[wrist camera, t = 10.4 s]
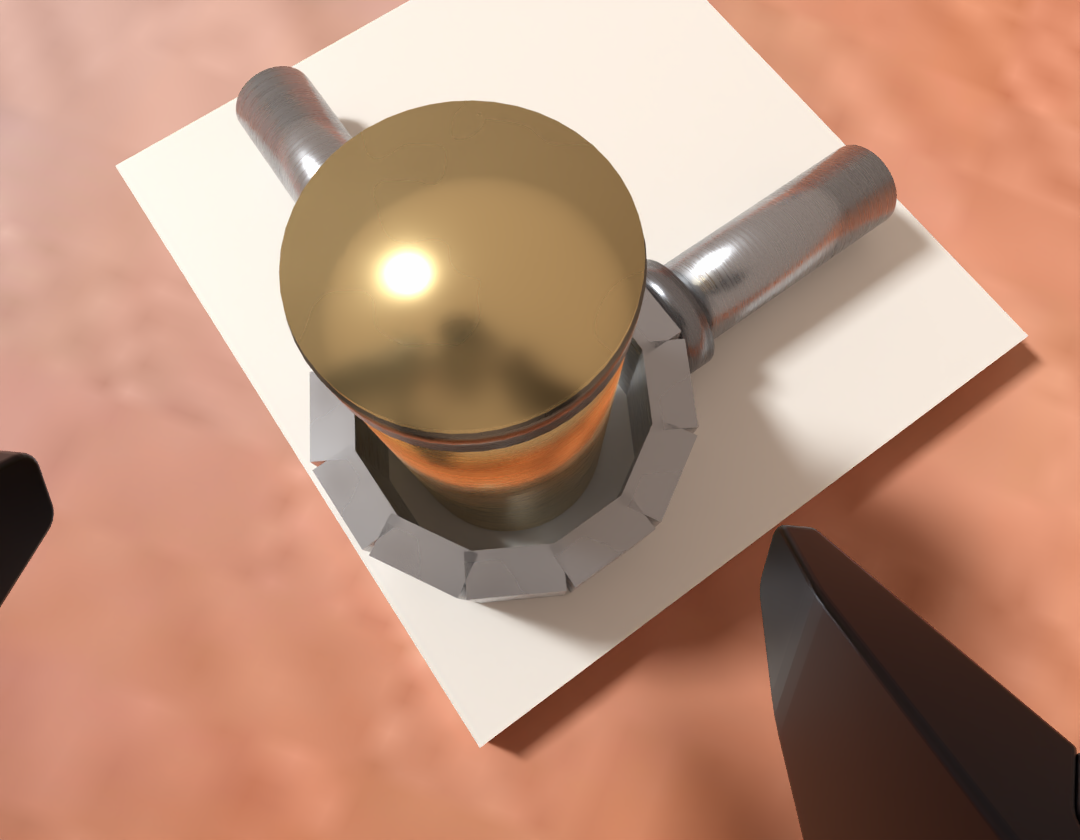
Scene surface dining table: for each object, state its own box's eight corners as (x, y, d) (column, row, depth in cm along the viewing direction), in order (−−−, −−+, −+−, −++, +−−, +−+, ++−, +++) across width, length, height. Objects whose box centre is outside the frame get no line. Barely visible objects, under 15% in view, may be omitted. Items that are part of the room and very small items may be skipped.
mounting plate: (1006, 348, 21) (1028, 336, 20) (483, 740, 18) (479, 747, 17) (600, -81, 25) (602, -109, 24) (133, 184, 23) (115, 165, 22)
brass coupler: (640, 459, 19) (726, 291, 10) (483, 572, 18) (404, 512, 9) (530, 317, 20) (508, 41, 11) (379, 418, 20) (209, 217, 10)
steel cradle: (938, 324, 21) (1025, 259, 17) (467, 668, 18) (445, 682, 14) (601, -40, 24) (611, -161, 20) (172, 208, 22) (94, 123, 18)
